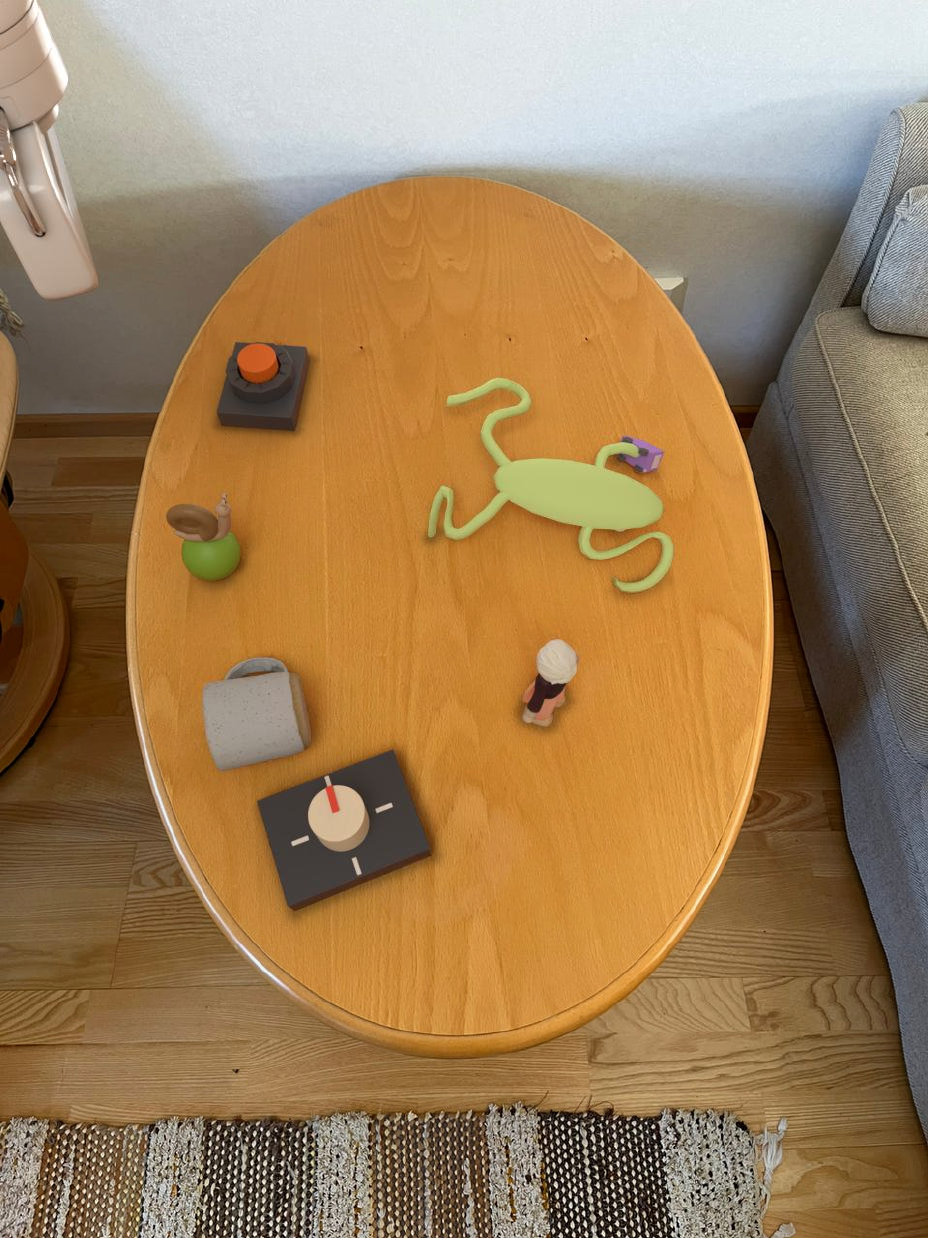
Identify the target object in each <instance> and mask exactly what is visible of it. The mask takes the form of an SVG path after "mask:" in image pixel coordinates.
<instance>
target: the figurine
mask: <svg viewBox="0 0 928 1238" xmlns="http://www.w3.org/2000/svg"><path fill="white" fill-rule="evenodd" d="M497 390H506V391H509V392H510V393H512V394H515V395H516V397H518V398H519V399H520V402H519V403H517V404H516V405H513V406H508V407H503V408H499V409H496V410H494V411H492V412H491V413H489V414H488V415H487V416H486V417H485V420H484V421H483V423H482V425H481V430H480V432H479V434H480V438H481V442H482V444H483V446H484V448H485V449H486V451H487V452H488V454H489V456H490V458H492V459H493V461H494V462H495V464H496V465H497V466H498V467H499V468H497V470H496V472H495V473H494V474H493V476H492V478H493V482H494V485H495V488H496V489H497V491H498V493H496V495H495V496H494V497H493V499H492V500H491V501H490V503H488V505H487V506H486V507H485V508H484V509H483V510H481V511H480V512H479V513H477V514H476V515H475V516H474V517H473V518H471V519H470V520H469V521H468V522H467V523H465V525H463V526H461V527H459V528H456V527H454V524H453V521H452V516H453V508H454V502H455V501H454V500H455V498H454V497H455V496H454V490H453V488H452V487H451V488H450V487H448V486H446V485H441V486H440V487H439V489H438V490H437V492H436V494H435V495H434V497H433V500H432V504H431V508H430V514H429V519H428V520H429V521H428V528H427V531H428V532H427V537H428V538H434V536H435V535H436V533H437V528H438V527H437V525H438V521H439V520H438V519H439V515H440V510H441V508H442V507H441V506H442V504H443V502H444V500H445V499H446V509H445V513H444V517H443V523H442V527H443V531H444V534H445V537H446V538H448V539H451V540H453V541H456V542H458V541H462V540H464V539H467V538H469V537H470V536H472V535H473V534H474V533H475V532H476V531H478V530H479V529H481V527H483V526H484V525H485V524H486V523H488V522H489V521H491V520H492V519H493V518H494V517H495V516H496V514H497V513H499V512H500V510H501V509H502V507H503V506H504V505H505V504H506V503H507V502H508V501H509V502H511V503H513V504H515V505H517V506H519V507H521V508H523V509H525V510H526V511H529V512H530V513H532V514H535V515H537V516H541V517H544V518H547V519H549V520H553V521H555V522H558V523H563V524H566V525H572V526H578V527H581V528H580V529H579V533H578V537H577V544H578V549H579V552H580V554H582V555H583V556H585V557H586V559H589V560H595V561H602V560H607V559H613V558H614V557H618V556H621V555H623V554H625V553H628V552H629V551H630V550H632V549H634V548H635V547H637V546H638V545H640V544H641V543H642V542H645V541H646V540H648V539H657V540H658V542H659V544H660V545H661V556H660V559H659V562H658V564H656V567H654V569H653V570H652V572H650V573H649V575H647V576H646V577H644V578H643V579H641V580H639V581H638V580H637V581H635V582H624V581H621V580H618V578H617V577H616V576H615V575H614V574H611V581H612V584H613V585H614V587H615V588H617V589H618V591H620V592H622V593H627V594H639V593H642V592H645V591H648V590H651V589H652V588H653V587H655V586H656V585H657V584H659V583H660V582H661V581H662V579H663V578H664V577H666V575H667V573H668V571H669V570H670V569H671V567H672V562H673V560H674V556H675V545H674V543H673V541H672V538H671V536H670V535H668V534H666V533H664V532H662V531H658V530H657V531H652V532H647V533H643V534H642V535H640V536H637V537H636V538H634V539H632V540H630V541H628V542H626V543H623V544H622V545H619V546H617V547H613V548H610V549H606V550H596V549H594V548H593V547H592V545H591V536H592V532H593V530H594V529H600V530H613V531H616V532H618V533H621V532H624V531H626V530H631V529H640V528H645V527H647V526H650V525H652V524H654V523H656V522H659V521H660V519H661V518H662V516H663V514H664V513H665V507H664V504H663V501H662V499H661V498H660V496H658V495H657V494H656V493H655V492H654V491H653V490H652V489H651V488H650V487H648V486H647V485H645V484H643V483H641V482H639V481H637V480H635V479H634V478H632V477H630V476H628V475H626V474H623V473H620V472H616V471H614V470H611V469H608V468H606V463H607V459H608V458H609V457H611V456H615V455H616V456H617V460H618V461H620V462H623V463H625V462H627V463H628V464H629V465H631V466H632V467H634V468H633V470H634V472H637V473H641V474H645V473H649V472H654V471H658V469H659V466H660V464H661V462H662V459H663V457H664V455H665V452H666V451H665V450H663V449H661V448H660V447H657V446H655V445H653V444H651V443H650V442H647V441H646V440H642V439H640V438H635V437H632V436H631V435H622V436H621V439H620V442H615V443H610V444H608V445H607V444H606V445H604V446H602V447H601V448H600V450H599V452H598V453H597V455H596V457H595V460H594V464H589V463H585V462H580V461H575V460H570V459H560V458H559V459H557V458H546V457H545V458H544V457H538V458H537V457H536V458H527V459H526V458H525V459H518V460H514V461H511V460H510V459H509V458H508V457H507V456H506V454H505V453H504V452H503V450H502V449H501V448H500V447H499V445H498V443H497V442H496V440H495V438H494V436H493V431H494V428H495V426H496V425H497V423H499V422H501V421H503V420H506V419H510V418H514V417H520V416H521V415H524V414H526V413H528V412H529V410H530V408H531V407H532V400H531V395H530V394H529V392H528V391H527V390H526V389H525V388H524V387H523V386H522V385H521V384H518V383H517V382H515V381H513V380H511V379H509V378H505V377H504V378H502V377H494V378H492V379H490V380H489V379H488V381H486V382H484V383H483V384H482V385H479V386H478V387H476V388H474V389H471V390H468V391H466V392H463V393H459V394H453V395H448V396H447V399H446V406H445V407H446V408H450V407H457V406H462V405H465V404H467V403H470V402H473V401H475V400H478V399H481V398H483V397H485V396H487V395H488V394H490V393H492V392H495V391H497Z"/></svg>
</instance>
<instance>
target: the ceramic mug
mask: <svg viewBox="0 0 928 1238" xmlns="http://www.w3.org/2000/svg"><path fill="white" fill-rule="evenodd" d="M265 672H268V673H265ZM254 673H263V674H260V675H252V676H246V675H249V674H254ZM244 676H245V677H244ZM201 705H202V716H203V724H204V730H205V731H204V732H205V738H206V742H207V746H208V748H209V752H210V756H211V759H212V761H213V763H214V765H215V767H216V768H217V770H218V771H220V772H226V771H230V770H234V769H235V770H236V769H240V768H243V767H247V766H251V765H255V764H260V763H265V762H269V761H272V760H275V759H282V758H287V757H291V756H294V755H297V754H299V753H301V752H304V751H307V749H309V747H310V746H311V744H312V733H311V725H310V719H309V714H308V713H309V712H308V708H307V701H306V697H305V692H304V689H303V684H302V681H301V678H300V676H299V675H298V674H297V673H295V672H290V671H289V670H288V667H287V666H286V664H285V663H283V661H281V660H279V659H277V658H273V657H269V656H268V657H266V656H265V657H264V656H259V657H252V658H248V659H244V660H243V661H240V662H238V663H237V664H235V665H233V666H232V667H231V668H230V669H229V670H228V672H227V673H226V674H225V676H224V677H223V680H216V681H210V682H207V683H204V685H203V688H202V695H201Z"/></svg>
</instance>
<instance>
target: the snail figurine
mask: <svg viewBox="0 0 928 1238" xmlns="http://www.w3.org/2000/svg"><path fill="white" fill-rule="evenodd" d="M220 498H221V499H220V501H219V502H217V504H215V506H214V512H215V514H216V515H217V517H216V515H215V514H214V513H213V512H212V511H210V510H209V509H207V508H205V507H203V506H200V505H197V504H191V503H178V504H175V505H173V506H171V507H169V509H168V510H167V511H166V515H165V519H166V521H167V523H168V525H169V526H170V527H171V528H173V529H174V530H173V534H174V535H175V536H176V537H178V538H180V539H182V540H183V541H182V544H181V550H180V552H181V553H180V554H181V559H182V562H183V564H184V566H185V568H186V570H187V571H188V572H189V573H190V574H192V576H194V577H196V578H198V579H200V580H203V581H208V582H214V581H220V580H224V579H226V578H227V577H229V576H231V574H233V572H235V570H236V569H237V567H238V566H239V564H240V560H241V554H242V553H241V545H240V542H239V541H238V538H237V537H236V535H234V533H233V532H232V531H231V527H232V515H231V514H232V506H231V505H230V504H229V503H228V500H227V499H228V495H227V493H225V492H223V493H221V494H220Z"/></svg>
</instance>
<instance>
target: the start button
mask: <svg viewBox="0 0 928 1238" xmlns="http://www.w3.org/2000/svg"><path fill="white" fill-rule="evenodd" d="M237 362H238V366H239V369H240V372H241V375H242V376H243V378H244V379H245V380H247V381H249V382H251V383H258V384H259V383H264V382H267V381H270V380H271V379H273V378H274V377H275V376H276V374H277V372H278V363H277V359H276V355H275V352H274V350H273V349H272V348H271V347H269V346H267V345H265V344H251V345H248V346H246V347H245V348H243V349H242V350H241V351H240V352H239V354H238V357H237Z"/></svg>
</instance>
